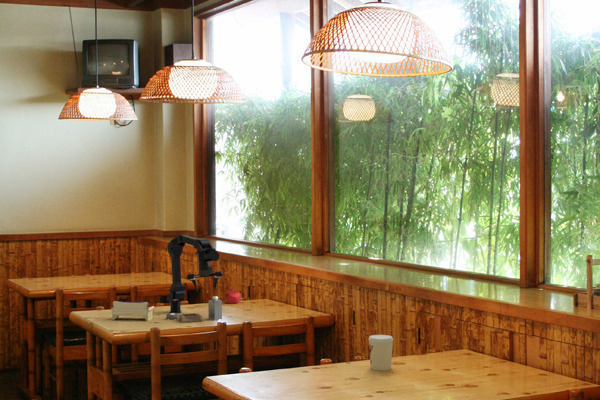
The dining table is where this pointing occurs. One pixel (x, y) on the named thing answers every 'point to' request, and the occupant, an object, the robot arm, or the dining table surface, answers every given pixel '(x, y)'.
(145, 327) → the dining table surface
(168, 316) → the rubber wheel
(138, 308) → the toy sofa
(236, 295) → the pomegranate
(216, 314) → the grey square bottle
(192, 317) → the chassis bay
